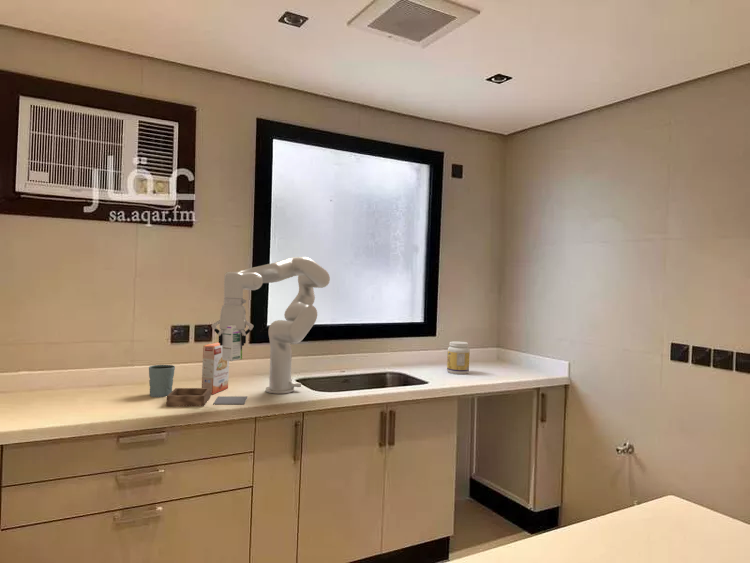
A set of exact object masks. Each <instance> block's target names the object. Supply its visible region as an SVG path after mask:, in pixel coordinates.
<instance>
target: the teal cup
mask: <svg viewBox="0 0 750 563" xmlns="http://www.w3.org/2000/svg"><path fill="white" fill-rule="evenodd" d="M175 367H176V366H175V365H172V364H156V365H155V364H154V365H150V366H149V367H148V377H149V380H148V381H149V396H150V397H151V398H167V397H166V396H168V395H169V394H170V393H171V392H172V391H173V384H174V376H175V369H176V368H175Z"/></svg>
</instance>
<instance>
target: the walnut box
mask: <svg viewBox="0 0 750 563" xmlns="http://www.w3.org/2000/svg"><path fill="white" fill-rule="evenodd" d="M211 395H212V394H211V388H202V387H189V388H188V387H183V388H182V387H176V388H174V389H172V392H171V393H170V394H169V395H168V396H167V397H166V406H169V407H205V406H206V404H207V403H208V402H207V401H209V400H211ZM204 405H205V406H204Z"/></svg>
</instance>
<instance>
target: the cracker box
mask: <svg viewBox="0 0 750 563" xmlns="http://www.w3.org/2000/svg"><path fill="white" fill-rule="evenodd" d="M229 370H230V361H226V360H222V345H221V346H220V343H219V341H217V342H214V343H209V344H205V345H203V348H202V369H201V388H211V394H210V395H215V394H216V393H219V392H222V391H224V390H226V389H228V388H229V373H230V372H229Z"/></svg>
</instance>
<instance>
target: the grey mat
mask: <svg viewBox="0 0 750 563" xmlns="http://www.w3.org/2000/svg"><path fill="white" fill-rule="evenodd" d="M247 399H248V396H241V395H240V396H239V395H238V396H236V395H235V396H226V395H225V396H223V395H222V396H220V395H219V396H217V397H216V399H215V400H214V402H213V404H212V405H214V404H215V405H216V406H217V405H220V406H221V405H227V406H228V405H229V406H231V405H237V406H238V405H245V403H246V401H247Z"/></svg>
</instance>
